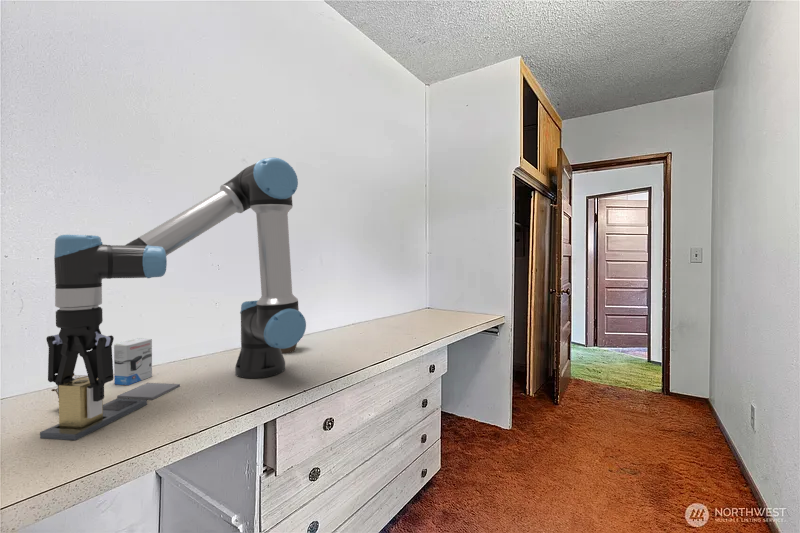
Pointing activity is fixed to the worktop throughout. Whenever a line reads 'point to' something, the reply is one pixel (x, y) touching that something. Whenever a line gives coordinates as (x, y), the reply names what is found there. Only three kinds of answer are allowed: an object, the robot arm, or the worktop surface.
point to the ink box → (132, 361)
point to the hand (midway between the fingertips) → (81, 414)
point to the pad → (148, 391)
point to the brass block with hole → (75, 405)
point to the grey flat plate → (110, 414)
